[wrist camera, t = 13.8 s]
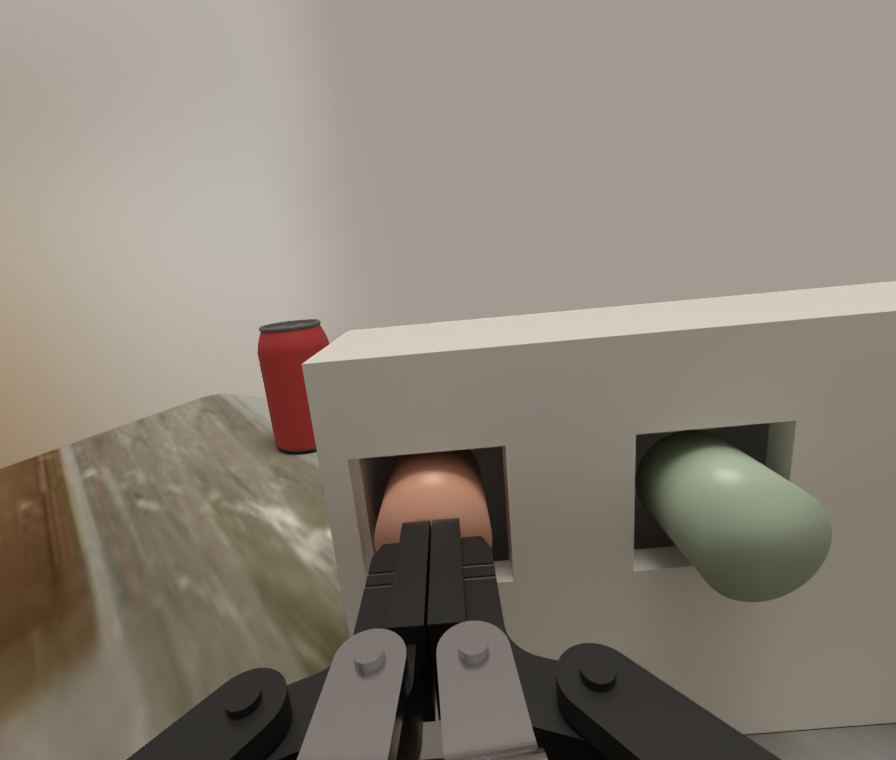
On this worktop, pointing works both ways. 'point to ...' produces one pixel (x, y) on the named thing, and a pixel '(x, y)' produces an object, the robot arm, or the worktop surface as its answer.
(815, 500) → the sage button
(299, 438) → the beer can
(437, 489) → the terracotta button
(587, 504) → the console
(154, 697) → the worktop surface
